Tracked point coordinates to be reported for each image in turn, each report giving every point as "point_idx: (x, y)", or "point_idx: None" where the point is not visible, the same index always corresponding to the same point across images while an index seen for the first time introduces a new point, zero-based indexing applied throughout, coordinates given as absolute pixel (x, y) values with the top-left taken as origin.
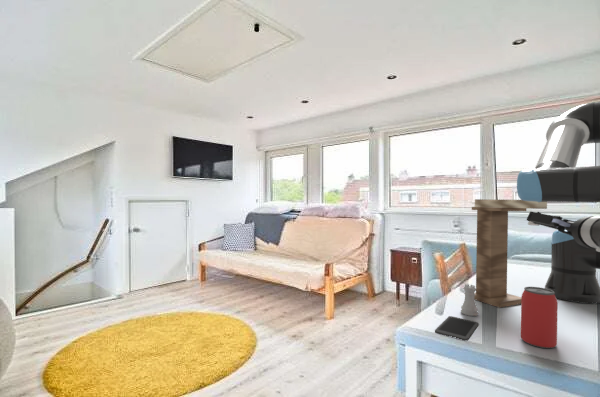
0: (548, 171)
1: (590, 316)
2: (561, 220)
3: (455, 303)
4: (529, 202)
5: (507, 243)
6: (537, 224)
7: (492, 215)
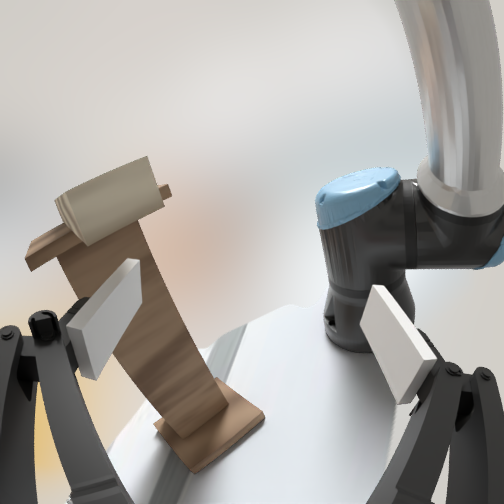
0: None
1: (384, 437)
2: (71, 489)
3: (116, 469)
4: (68, 208)
5: (175, 306)
6: (87, 375)
7: (65, 262)
